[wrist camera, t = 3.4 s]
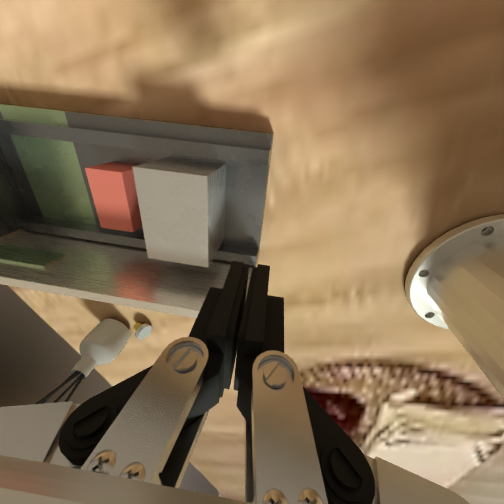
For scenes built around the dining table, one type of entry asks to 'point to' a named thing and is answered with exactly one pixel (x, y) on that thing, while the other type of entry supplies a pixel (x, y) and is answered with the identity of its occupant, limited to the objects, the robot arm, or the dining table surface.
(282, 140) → the dining table surface
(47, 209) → the grey compartment tray
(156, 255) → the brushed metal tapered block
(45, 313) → the dining table surface
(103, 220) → the salmon pink rectangular block
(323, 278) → the dining table surface
